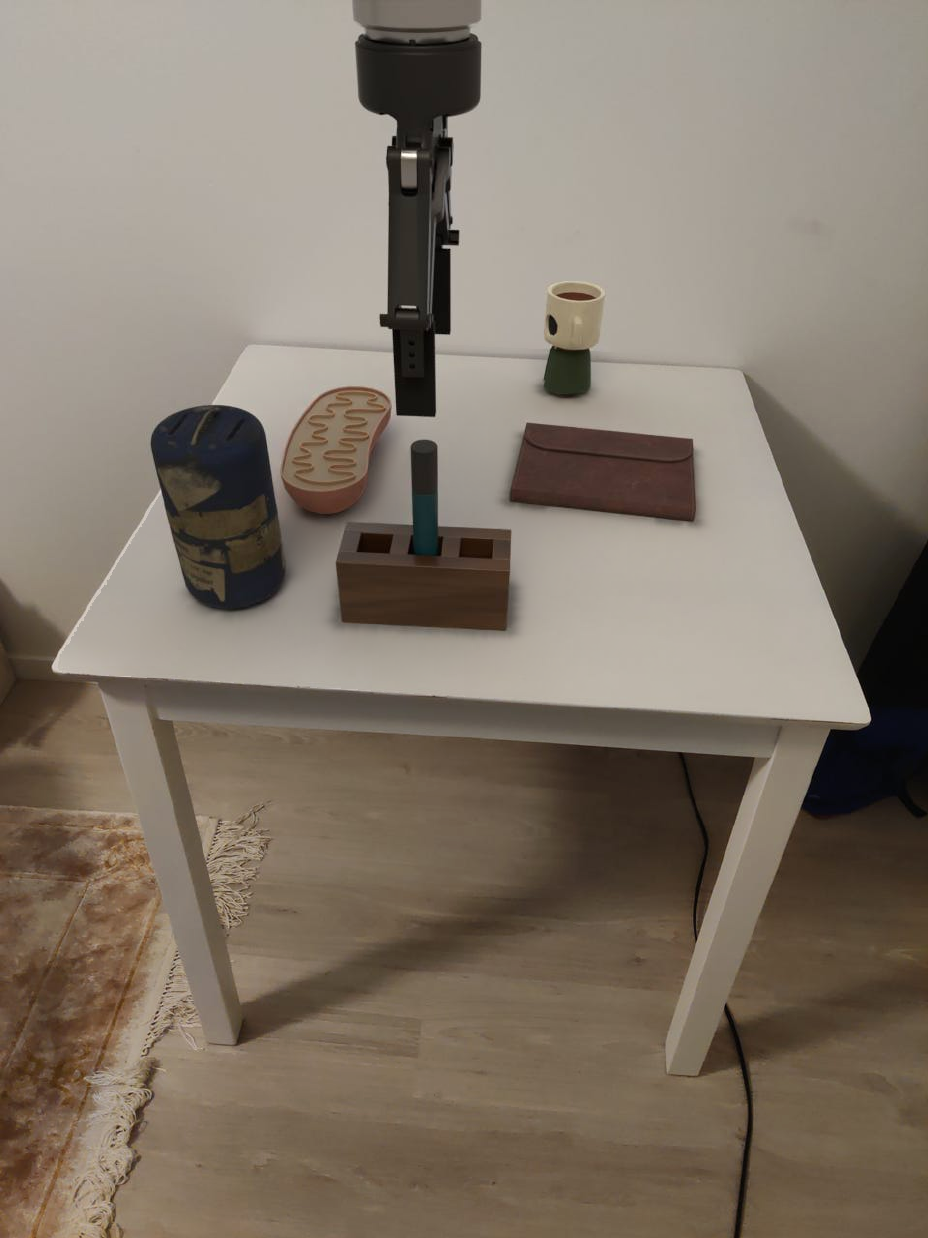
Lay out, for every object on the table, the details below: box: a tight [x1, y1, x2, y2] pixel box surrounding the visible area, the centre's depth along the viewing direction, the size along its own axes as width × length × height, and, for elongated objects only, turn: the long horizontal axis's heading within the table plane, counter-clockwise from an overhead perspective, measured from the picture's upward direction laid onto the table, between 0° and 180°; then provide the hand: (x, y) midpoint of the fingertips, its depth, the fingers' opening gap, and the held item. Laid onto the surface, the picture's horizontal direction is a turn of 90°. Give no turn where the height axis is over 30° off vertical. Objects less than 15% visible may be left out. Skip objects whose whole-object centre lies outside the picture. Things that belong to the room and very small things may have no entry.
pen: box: [410, 439, 439, 556], centre depth 75 cm, size 2×2×17 cm
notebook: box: [509, 422, 697, 522], centre depth 97 cm, size 15×20×2 cm
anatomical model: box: [279, 385, 392, 515], centre depth 96 cm, size 23×10×5 cm, turn 174°
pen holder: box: [335, 521, 512, 632], centre depth 78 cm, size 6×15×7 cm, turn 87°
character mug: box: [542, 280, 606, 395], centre depth 109 cm, size 11×7×13 cm, turn 0°
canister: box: [150, 404, 286, 610], centre depth 76 cm, size 10×10×18 cm
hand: (425, 370), depth 64 cm, fingers open, 13 cm apart
